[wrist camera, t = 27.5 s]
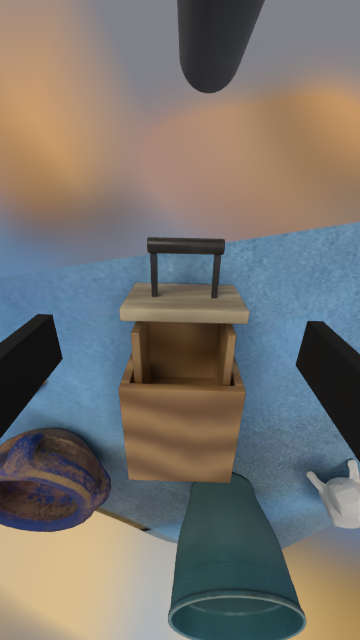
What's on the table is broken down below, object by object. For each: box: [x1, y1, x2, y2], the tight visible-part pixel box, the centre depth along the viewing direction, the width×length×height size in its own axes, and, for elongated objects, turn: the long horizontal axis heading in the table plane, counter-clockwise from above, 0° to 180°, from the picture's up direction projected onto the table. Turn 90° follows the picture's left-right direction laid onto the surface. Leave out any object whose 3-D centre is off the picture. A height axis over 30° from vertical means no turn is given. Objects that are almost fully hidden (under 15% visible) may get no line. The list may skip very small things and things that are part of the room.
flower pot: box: [168, 474, 306, 640], centre depth 40 cm, size 18×18×17 cm
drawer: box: [119, 237, 250, 386], centre depth 27 cm, size 19×12×8 cm, turn 179°
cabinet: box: [119, 353, 246, 483], centre depth 32 cm, size 15×13×10 cm
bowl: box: [0, 428, 111, 532], centre depth 39 cm, size 18×18×10 cm
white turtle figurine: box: [306, 460, 360, 529], centre depth 41 cm, size 9×8×15 cm
